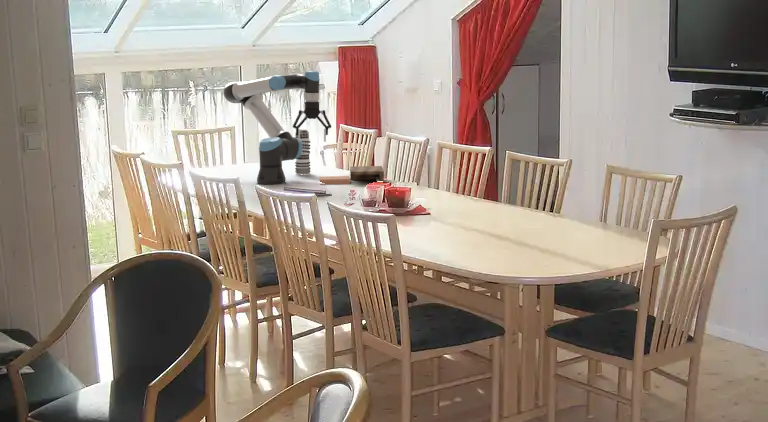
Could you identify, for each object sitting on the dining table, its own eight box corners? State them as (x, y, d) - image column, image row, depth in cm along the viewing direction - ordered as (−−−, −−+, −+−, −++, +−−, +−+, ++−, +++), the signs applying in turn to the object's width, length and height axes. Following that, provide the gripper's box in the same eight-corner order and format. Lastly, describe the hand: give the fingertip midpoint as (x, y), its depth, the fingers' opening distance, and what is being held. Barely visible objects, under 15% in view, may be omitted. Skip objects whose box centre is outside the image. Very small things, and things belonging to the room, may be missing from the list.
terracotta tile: (319, 185, 499) (319, 179, 498) (319, 182, 510) (319, 176, 509) (350, 184, 500) (350, 179, 500) (349, 181, 511) (349, 175, 511)
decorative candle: (312, 173, 539) (311, 129, 535) (309, 175, 530) (308, 130, 526) (296, 173, 540) (295, 129, 536) (293, 175, 531) (292, 130, 527)
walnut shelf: (351, 185, 496) (351, 171, 494) (350, 179, 515) (350, 166, 514) (383, 184, 496) (383, 171, 495) (381, 178, 516) (381, 166, 515)
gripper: (288, 101, 492) (288, 142, 496) (336, 101, 497) (336, 142, 501) (287, 100, 499) (287, 140, 504) (334, 100, 504) (334, 140, 508)
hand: (311, 141), depth 502 cm, fingers open, 13 cm apart
